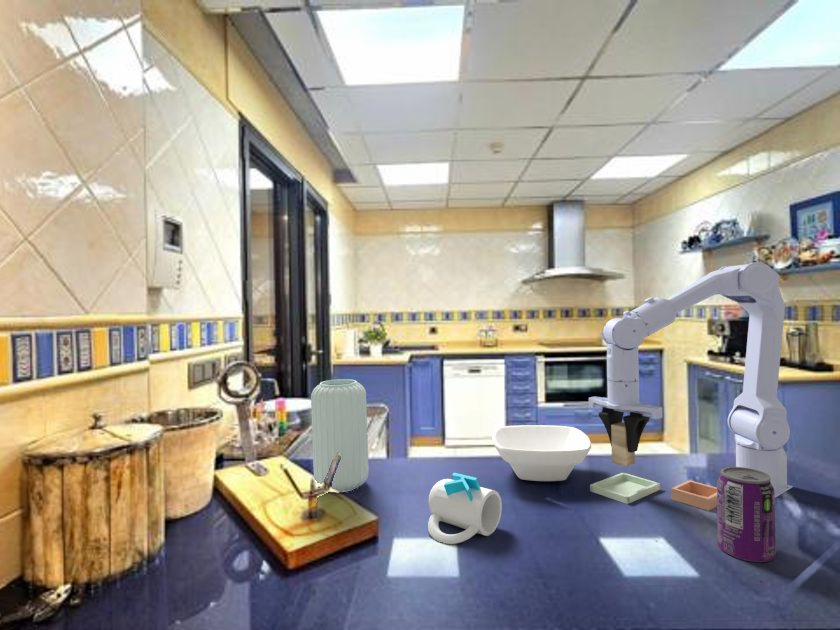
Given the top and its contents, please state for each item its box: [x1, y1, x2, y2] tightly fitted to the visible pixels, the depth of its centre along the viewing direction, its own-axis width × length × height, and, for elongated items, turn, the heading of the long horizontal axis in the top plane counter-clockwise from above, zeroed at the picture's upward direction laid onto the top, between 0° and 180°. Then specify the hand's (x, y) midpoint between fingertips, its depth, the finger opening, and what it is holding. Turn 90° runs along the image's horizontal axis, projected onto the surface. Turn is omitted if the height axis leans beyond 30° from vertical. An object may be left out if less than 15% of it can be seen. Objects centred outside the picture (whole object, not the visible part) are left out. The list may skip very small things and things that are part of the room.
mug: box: [427, 472, 503, 545], centre depth 83 cm, size 12×9×12 cm
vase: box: [310, 378, 370, 491], centre depth 104 cm, size 12×12×22 cm
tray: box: [589, 472, 661, 505], centre depth 96 cm, size 11×8×2 cm
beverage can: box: [716, 466, 776, 563], centre depth 72 cm, size 7×7×12 cm
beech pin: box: [611, 421, 636, 467], centre depth 96 cm, size 3×3×8 cm
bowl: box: [491, 424, 592, 482], centre depth 107 cm, size 21×21×9 cm
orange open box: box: [670, 479, 717, 512], centre depth 91 cm, size 7×7×3 cm
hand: (624, 449), depth 96 cm, fingers closed on beech pin, 3 cm apart
